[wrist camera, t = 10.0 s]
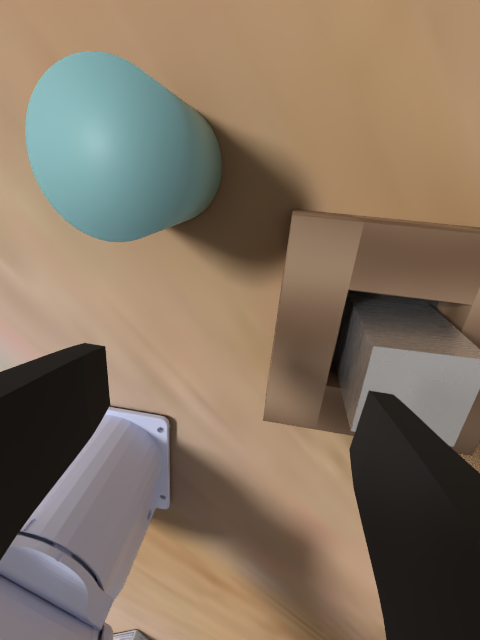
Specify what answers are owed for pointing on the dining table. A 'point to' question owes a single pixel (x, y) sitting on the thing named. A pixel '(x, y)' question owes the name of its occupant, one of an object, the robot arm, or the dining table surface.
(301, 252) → the walnut bore block
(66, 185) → the round bit
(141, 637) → the medicine box
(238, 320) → the dining table surface
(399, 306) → the square bit
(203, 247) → the dining table surface
